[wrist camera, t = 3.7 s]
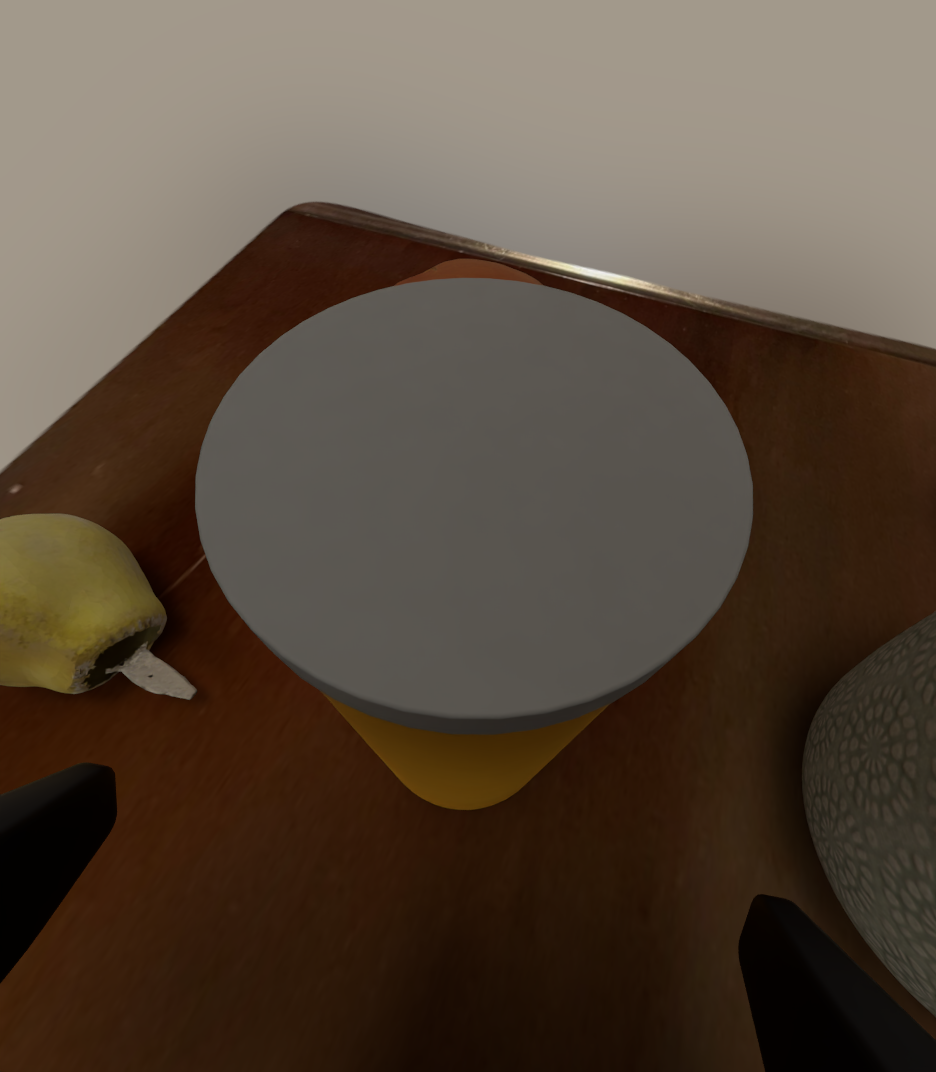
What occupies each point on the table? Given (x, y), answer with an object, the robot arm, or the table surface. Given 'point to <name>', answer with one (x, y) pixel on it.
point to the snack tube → (473, 519)
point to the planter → (881, 802)
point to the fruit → (77, 609)
